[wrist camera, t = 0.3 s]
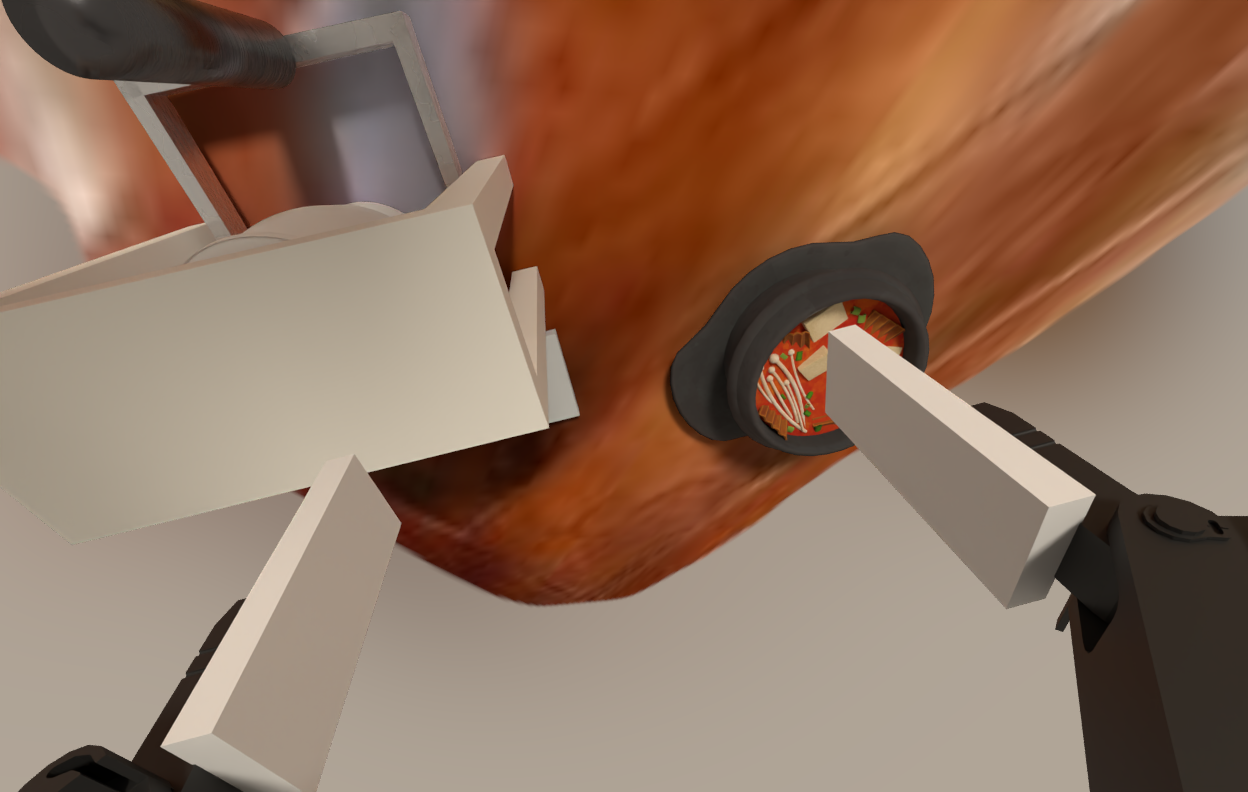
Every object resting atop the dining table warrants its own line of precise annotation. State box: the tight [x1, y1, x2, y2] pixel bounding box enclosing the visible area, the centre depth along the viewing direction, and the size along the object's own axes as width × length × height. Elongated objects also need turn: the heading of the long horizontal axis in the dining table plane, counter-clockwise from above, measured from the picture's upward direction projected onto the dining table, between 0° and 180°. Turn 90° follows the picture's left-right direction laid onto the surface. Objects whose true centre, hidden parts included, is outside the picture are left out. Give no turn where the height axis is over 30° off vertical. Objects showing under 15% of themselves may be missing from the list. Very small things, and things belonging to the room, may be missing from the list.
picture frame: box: [2, 0, 463, 240], centre depth 26 cm, size 21×16×15 cm
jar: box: [183, 202, 404, 264], centre depth 29 cm, size 11×10×15 cm
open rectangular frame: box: [0, 155, 580, 545], centre depth 31 cm, size 22×22×20 cm
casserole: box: [670, 232, 934, 456], centre depth 41 cm, size 25×19×8 cm
